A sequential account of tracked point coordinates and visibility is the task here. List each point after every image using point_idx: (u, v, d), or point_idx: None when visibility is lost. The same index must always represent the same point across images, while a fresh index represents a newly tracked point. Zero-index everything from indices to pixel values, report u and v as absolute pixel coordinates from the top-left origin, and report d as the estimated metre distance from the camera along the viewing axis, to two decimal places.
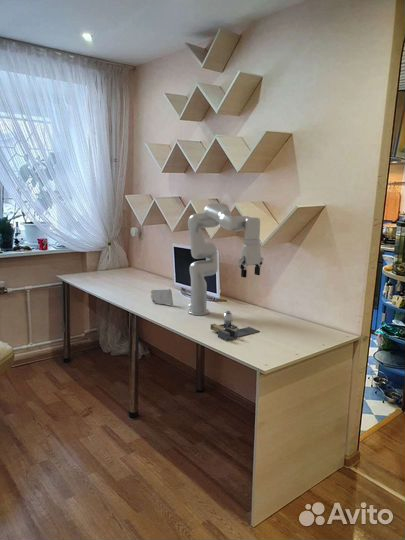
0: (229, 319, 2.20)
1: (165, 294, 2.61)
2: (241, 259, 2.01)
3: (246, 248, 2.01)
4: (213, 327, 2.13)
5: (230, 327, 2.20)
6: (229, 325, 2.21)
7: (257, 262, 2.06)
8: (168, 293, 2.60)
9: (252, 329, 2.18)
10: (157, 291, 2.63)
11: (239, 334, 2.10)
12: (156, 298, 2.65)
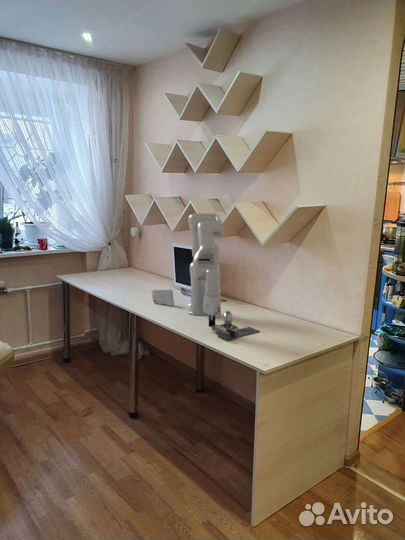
0: (229, 319, 2.20)
1: (166, 294, 2.61)
2: (218, 313, 2.11)
3: (219, 299, 2.10)
4: (215, 328, 2.12)
5: (230, 327, 2.20)
6: (229, 325, 2.21)
7: None
8: (169, 293, 2.60)
9: (252, 329, 2.18)
10: (159, 291, 2.63)
11: (239, 334, 2.10)
12: (157, 298, 2.65)
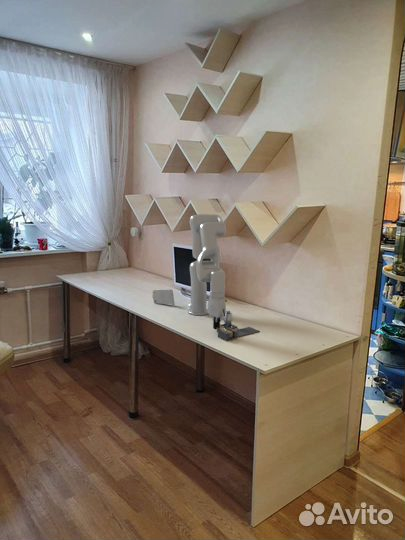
0: (229, 319, 2.20)
1: (166, 294, 2.61)
2: (223, 315, 2.08)
3: (224, 301, 2.07)
4: None
5: (230, 327, 2.20)
6: (229, 325, 2.21)
7: None
8: (169, 293, 2.60)
9: (252, 329, 2.18)
10: (159, 291, 2.63)
11: (239, 334, 2.10)
12: (157, 298, 2.65)
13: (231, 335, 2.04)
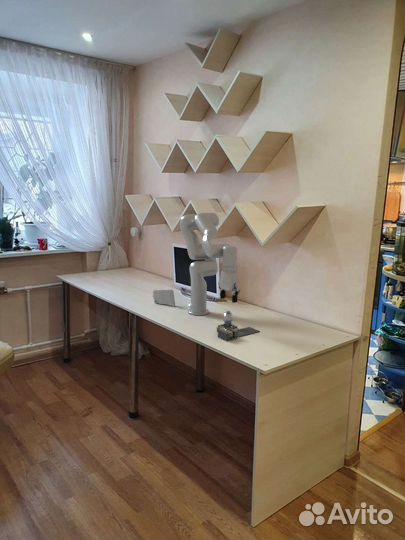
0: (229, 319, 2.20)
1: (167, 294, 2.61)
2: (238, 286, 2.12)
3: (236, 275, 2.14)
4: None
5: (230, 327, 2.20)
6: (229, 325, 2.21)
7: None
8: (170, 293, 2.59)
9: (252, 329, 2.18)
10: (159, 291, 2.63)
11: (239, 334, 2.10)
12: (158, 298, 2.65)
13: (231, 335, 2.04)
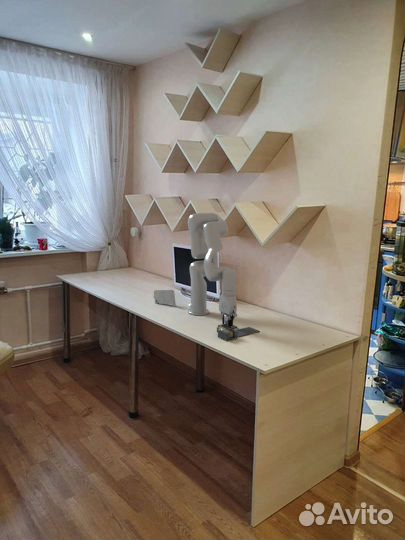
0: None
1: (168, 294, 2.60)
2: (235, 312, 2.16)
3: (235, 298, 2.16)
4: None
5: (230, 327, 2.20)
6: None
7: None
8: (171, 293, 2.59)
9: (252, 329, 2.18)
10: (160, 291, 2.63)
11: (239, 334, 2.10)
12: (159, 298, 2.64)
13: (231, 335, 2.04)
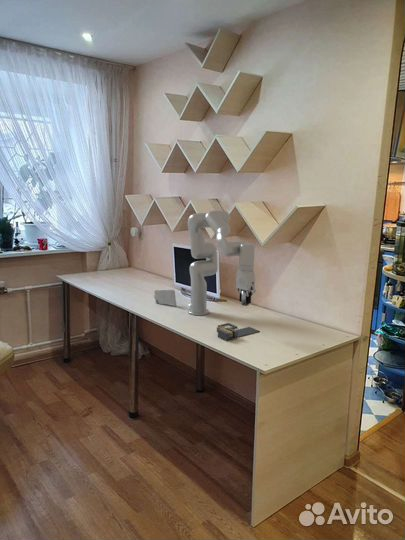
0: None
1: (168, 294, 2.60)
2: (254, 288, 2.06)
3: (253, 274, 2.06)
4: None
5: (230, 327, 2.20)
6: None
7: None
8: (171, 293, 2.59)
9: (252, 329, 2.18)
10: (161, 291, 2.63)
11: (239, 334, 2.10)
12: (159, 298, 2.64)
13: (231, 335, 2.04)
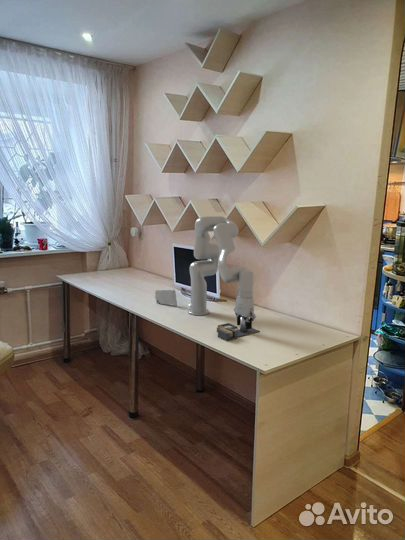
0: (246, 323, 2.12)
1: (169, 294, 2.60)
2: (253, 313, 2.08)
3: (252, 300, 2.09)
4: None
5: (230, 327, 2.20)
6: (246, 329, 2.13)
7: None
8: (172, 294, 2.59)
9: (252, 329, 2.18)
10: (161, 291, 2.63)
11: (239, 334, 2.10)
12: (160, 298, 2.64)
13: (231, 335, 2.04)
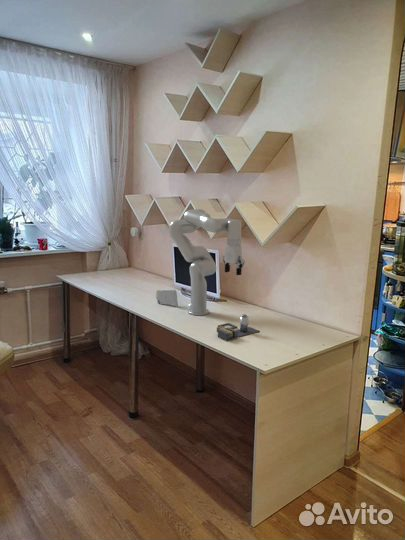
0: (246, 323, 2.12)
1: (170, 295, 2.60)
2: (242, 258, 2.18)
3: (240, 248, 2.19)
4: None
5: (230, 327, 2.20)
6: (246, 329, 2.13)
7: None
8: (173, 294, 2.59)
9: (252, 329, 2.18)
10: (162, 291, 2.62)
11: (239, 334, 2.10)
12: (161, 299, 2.64)
13: (231, 335, 2.04)
